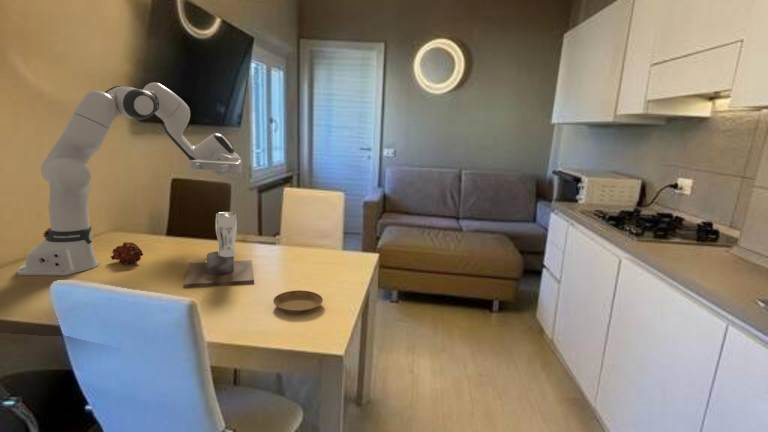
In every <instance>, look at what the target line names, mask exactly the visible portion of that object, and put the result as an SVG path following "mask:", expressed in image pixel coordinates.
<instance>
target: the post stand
mask: <svg viewBox="0 0 768 432" xmlns="http://www.w3.org/2000/svg"><path fill="white" fill-rule="evenodd" d="M234 259H235V256H234V257H229V258H222V257H219V256H218V250H216V251H212V252H209V253H207V254H206V261H202V262H201V261H200V262H189V264H188V267H187V268H188V269H187V271H186V273H185V274H186V275H185V278H184V281H183V288H199V287H216V286H230V285H231V286H232V285H233V286H234V285H248V284H249V285H250V284H251V285H252V284H255V278H254V269H253V261H252V260H251V259H250V260H249V259H248V260H247V259H246V260H245V259H243V260H234Z"/></svg>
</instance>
